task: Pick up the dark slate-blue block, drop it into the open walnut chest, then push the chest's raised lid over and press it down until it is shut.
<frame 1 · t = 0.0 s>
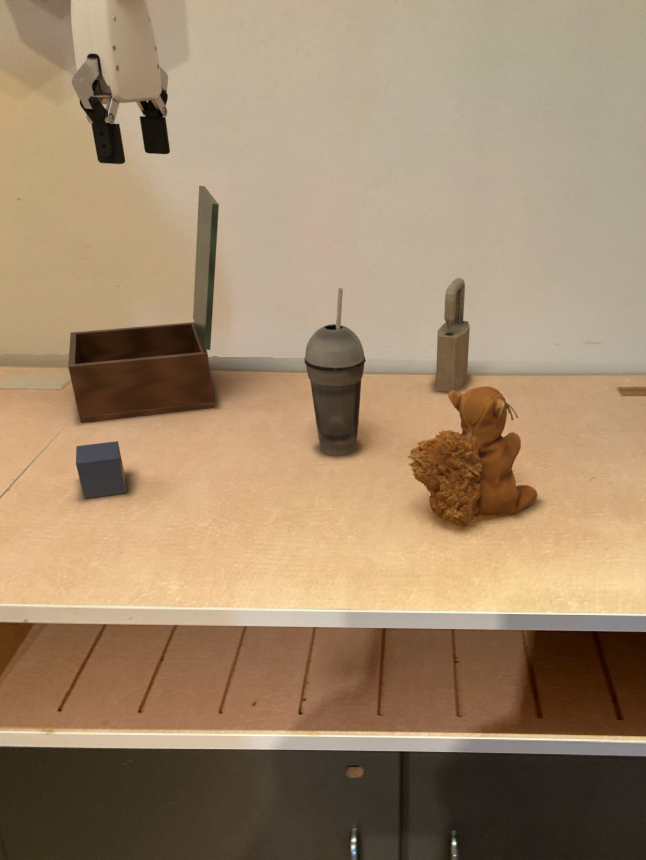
hand: (135, 158, 93), 31 cm above the worktop, tool pointing down, fingers open, 9 cm apart
beverage cup: (338, 449, 100), on the worktop
lid: (204, 266, 107), point 17 cm above the worktop, hinge at 100.0°
padlock: (451, 383, 119), on the worktop
chest: (146, 395, 114), on the worktop
stuffed squirrel: (469, 509, 87), on the worktop
block: (105, 487, 90), on the worktop
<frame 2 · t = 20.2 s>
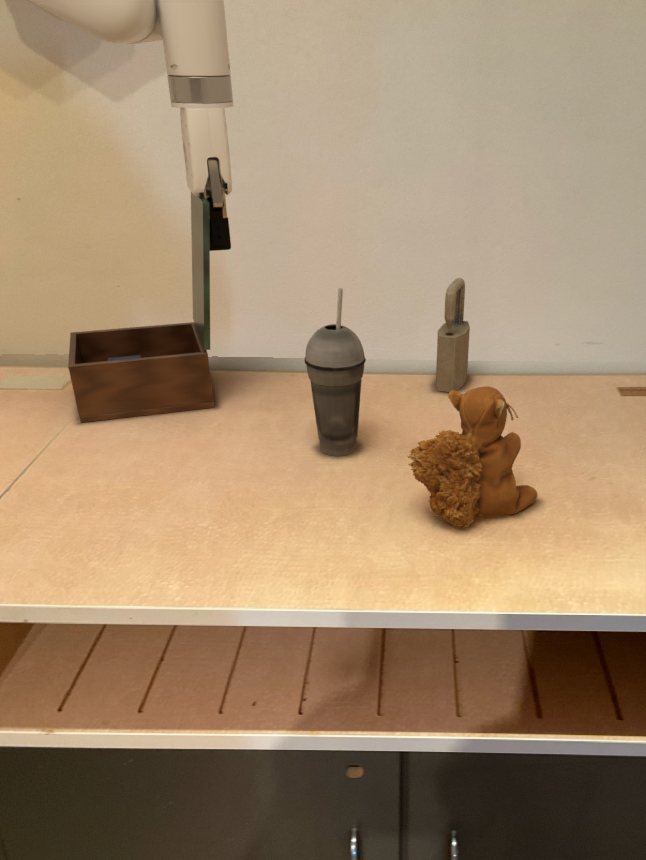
hand: (218, 248, 107), 20 cm above the worktop, tool pointing down, fingers closed
lid: (200, 266, 107), point 17 cm above the worktop, hinge at 96.4°, touching gripper
block: (130, 391, 113), point 1 cm above the worktop, touching chest
everything else where it was.
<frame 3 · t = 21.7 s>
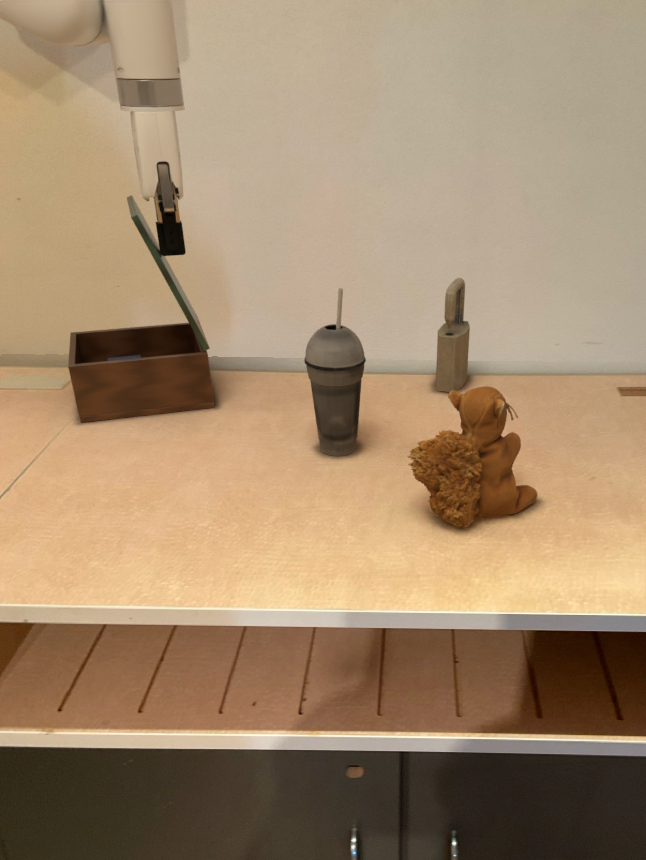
hand: (173, 253, 105), 19 cm above the worktop, tool pointing down, fingers closed
lid: (168, 272, 106), point 17 cm above the worktop, hinge at 69.0°, touching gripper
everything else where it was.
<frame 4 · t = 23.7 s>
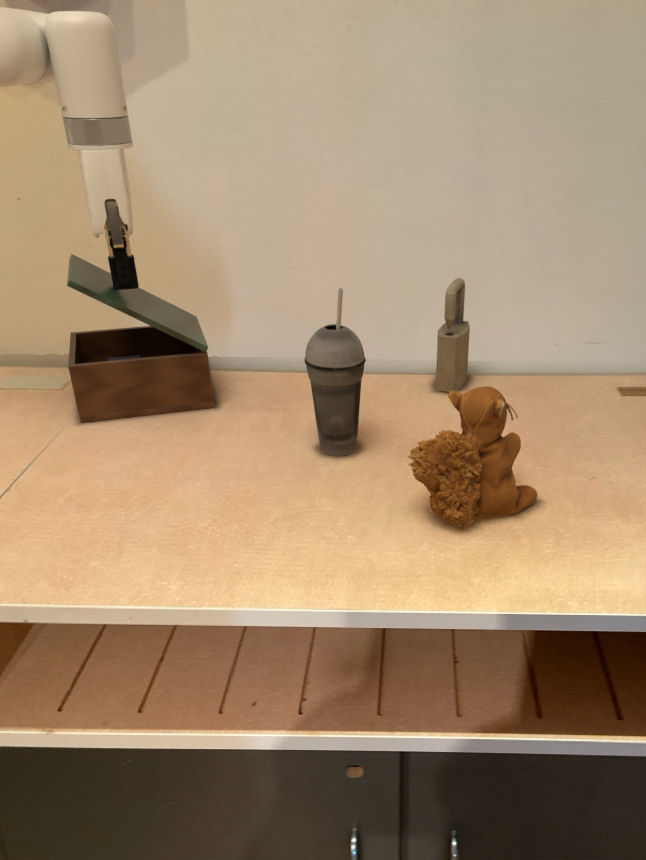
hand: (126, 287, 105), 15 cm above the worktop, tool pointing down, fingers closed
lid: (138, 302, 107), point 13 cm above the worktop, hinge at 32.6°, touching gripper
everything else where it was.
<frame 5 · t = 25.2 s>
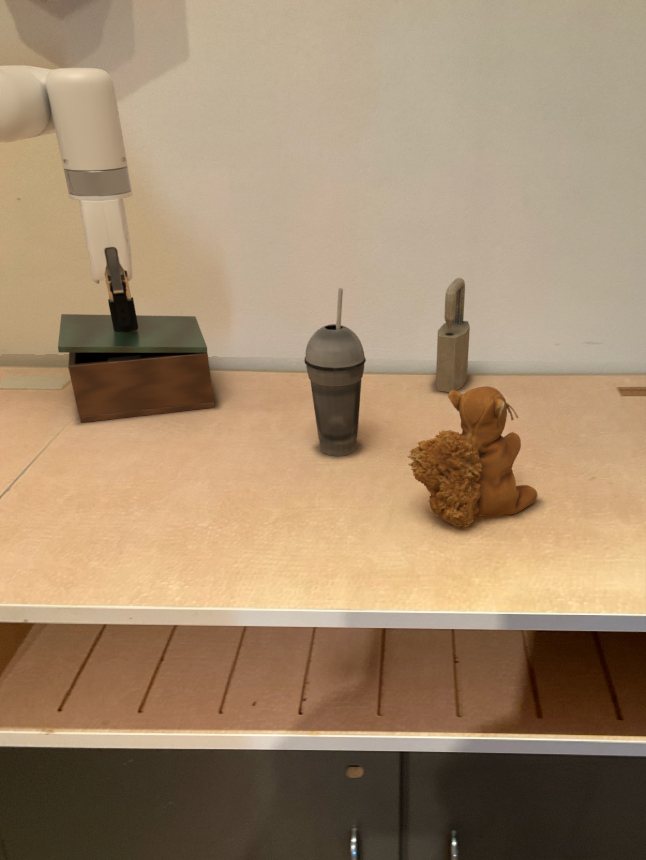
hand: (126, 328, 108), 10 cm above the worktop, tool pointing down, fingers closed
lid: (132, 332, 109), point 9 cm above the worktop, hinge at 5.7°, touching gripper
everything else where it was.
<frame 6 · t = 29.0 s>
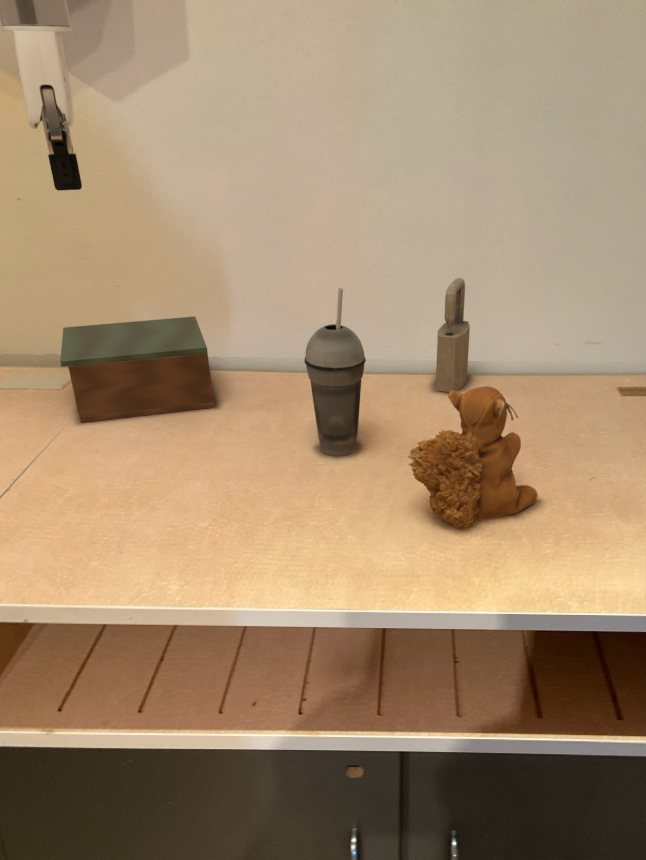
hand: (68, 188, 101), 27 cm above the worktop, tool pointing down, fingers closed
lid: (133, 339, 109), point 8 cm above the worktop, hinge at -0.2°, touching chest
everything else where it was.
at the end: block inside the target area in the chest (2.1 cm from its centre), point 0.8 cm above the chest's base; lid at +0° (first picture: +100°) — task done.
